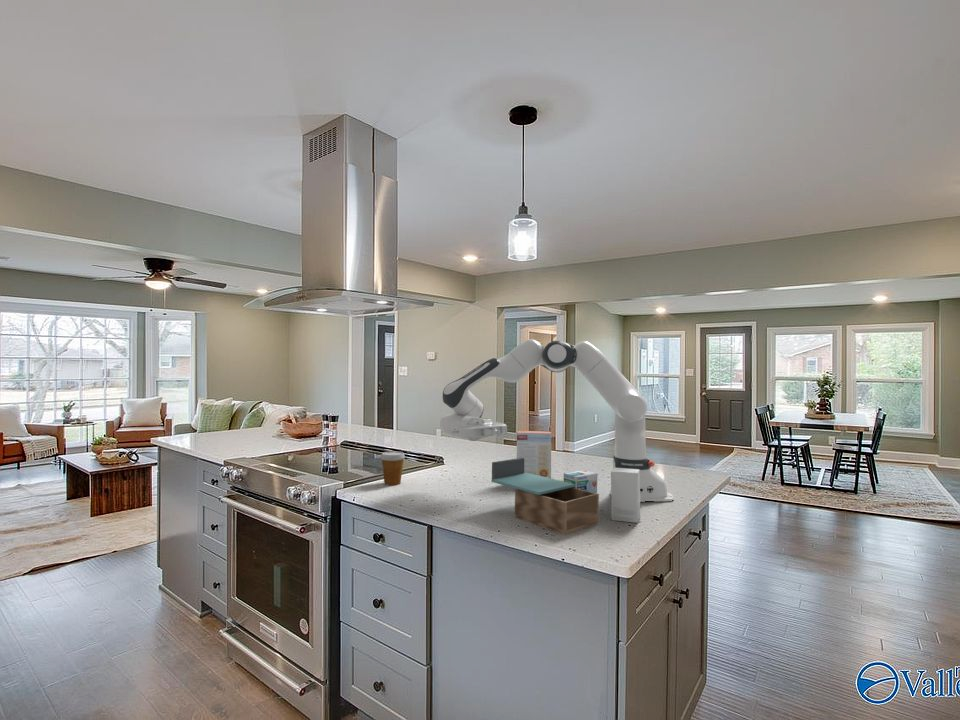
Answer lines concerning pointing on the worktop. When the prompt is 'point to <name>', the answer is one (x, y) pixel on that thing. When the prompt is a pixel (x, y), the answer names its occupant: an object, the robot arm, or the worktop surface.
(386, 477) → the disposable coffee cup
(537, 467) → the cracker box
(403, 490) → the worktop surface
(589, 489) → the light bulb box
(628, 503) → the skincare box
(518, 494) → the crate
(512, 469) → the lid
